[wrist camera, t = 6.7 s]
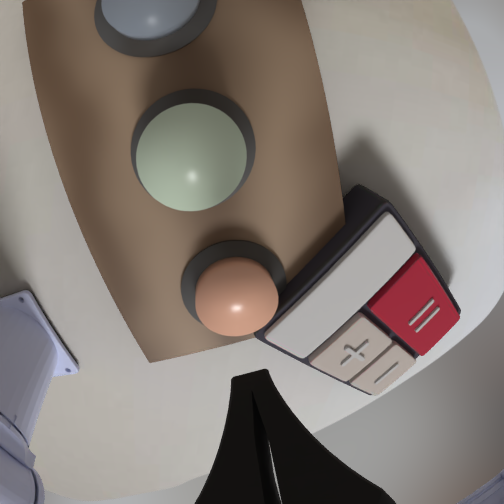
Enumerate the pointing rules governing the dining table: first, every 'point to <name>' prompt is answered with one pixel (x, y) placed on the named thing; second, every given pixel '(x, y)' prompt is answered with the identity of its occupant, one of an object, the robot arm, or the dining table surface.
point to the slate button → (148, 16)
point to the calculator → (364, 300)
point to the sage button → (191, 157)
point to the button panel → (152, 104)
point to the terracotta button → (235, 296)
